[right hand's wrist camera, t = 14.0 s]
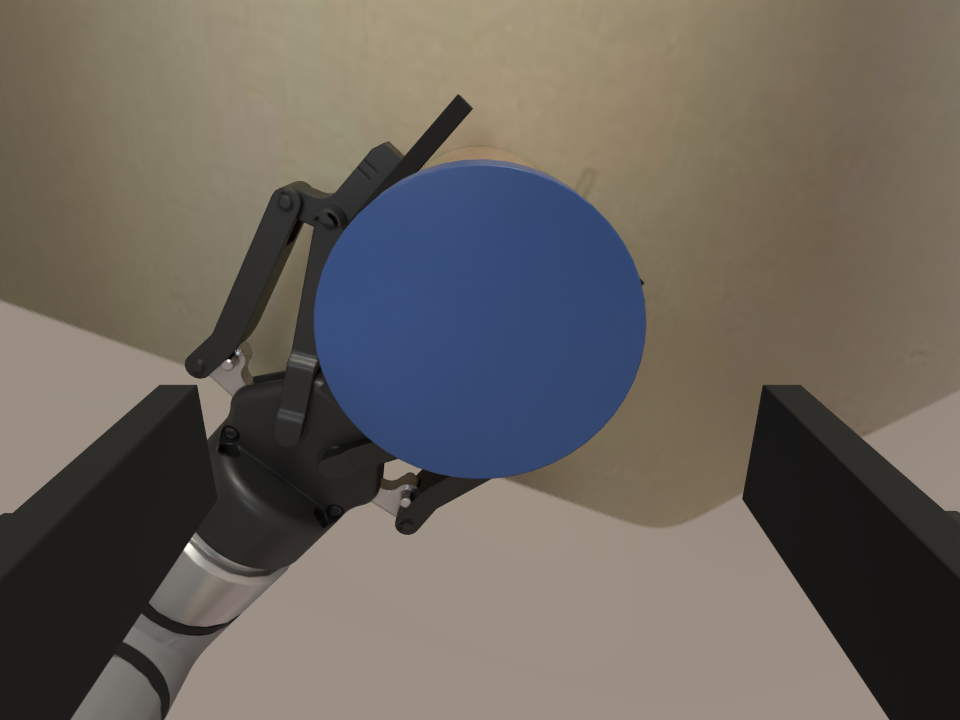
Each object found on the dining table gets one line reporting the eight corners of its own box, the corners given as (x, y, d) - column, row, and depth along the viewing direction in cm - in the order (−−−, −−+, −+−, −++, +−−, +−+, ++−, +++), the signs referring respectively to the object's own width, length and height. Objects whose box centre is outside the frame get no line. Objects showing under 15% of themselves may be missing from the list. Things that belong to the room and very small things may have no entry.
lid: (455, 84, 18) (453, 82, 17) (696, 297, 21) (716, 315, 19) (268, 338, 21) (249, 358, 20) (498, 499, 24) (499, 530, 22)
